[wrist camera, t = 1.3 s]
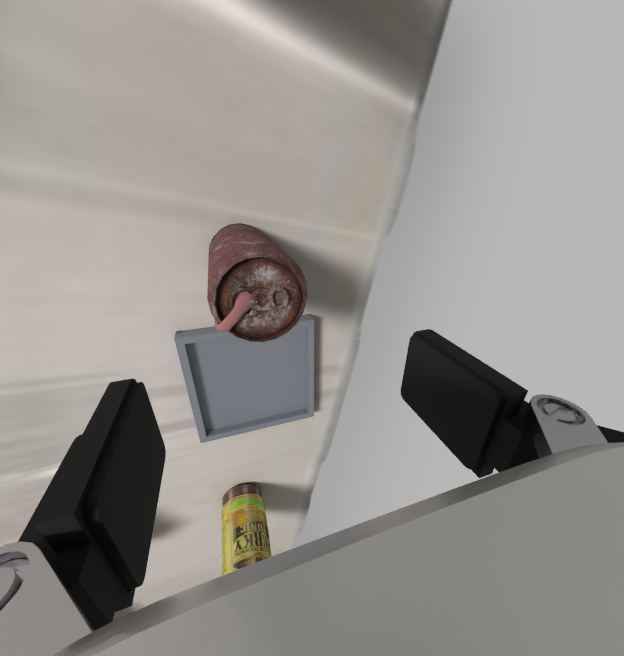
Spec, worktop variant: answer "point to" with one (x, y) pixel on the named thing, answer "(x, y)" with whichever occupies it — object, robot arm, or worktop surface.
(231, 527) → the sauce bottle
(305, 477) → the worktop surface
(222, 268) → the can
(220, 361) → the tray
